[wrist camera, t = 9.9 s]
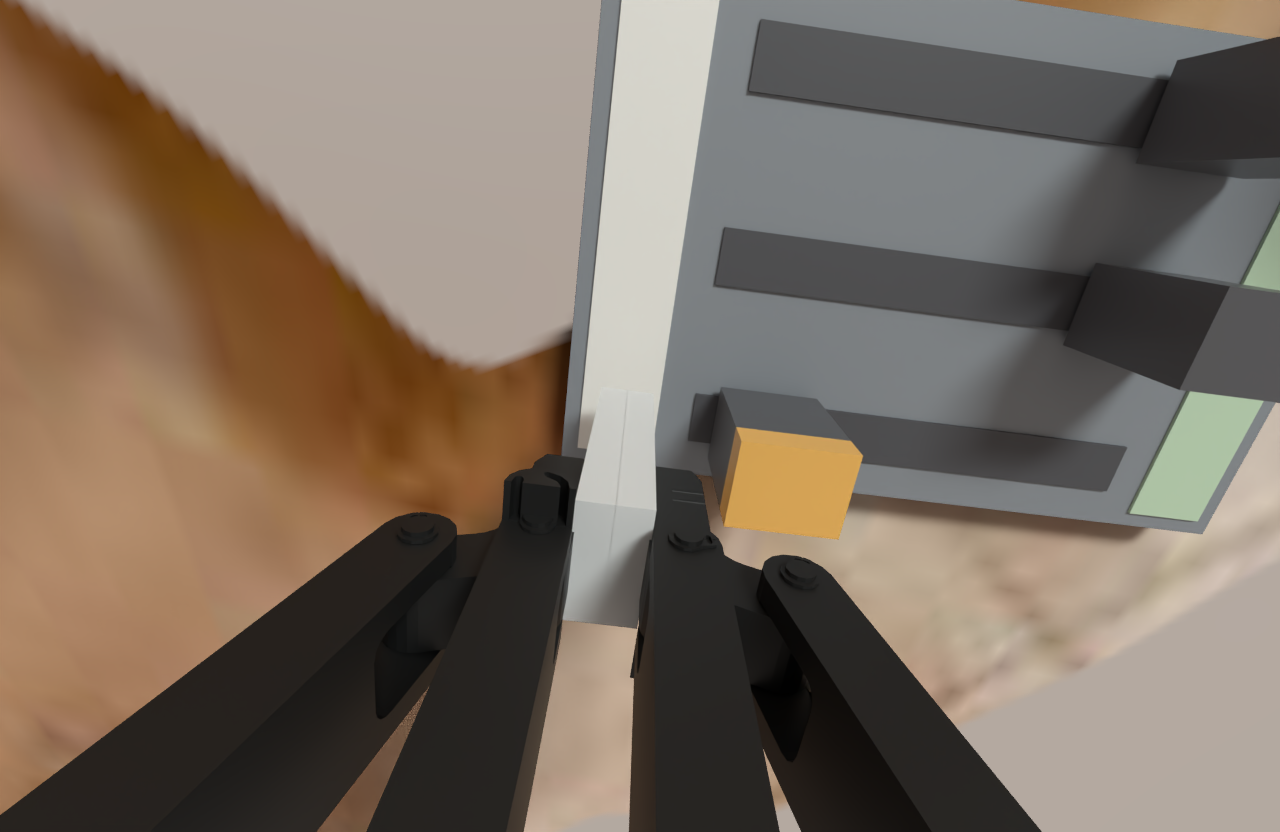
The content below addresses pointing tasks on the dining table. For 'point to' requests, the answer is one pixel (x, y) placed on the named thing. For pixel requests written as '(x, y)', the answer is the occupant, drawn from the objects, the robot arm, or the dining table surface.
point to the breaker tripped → (781, 464)
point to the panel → (907, 244)
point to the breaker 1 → (1220, 114)
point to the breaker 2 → (1182, 330)
